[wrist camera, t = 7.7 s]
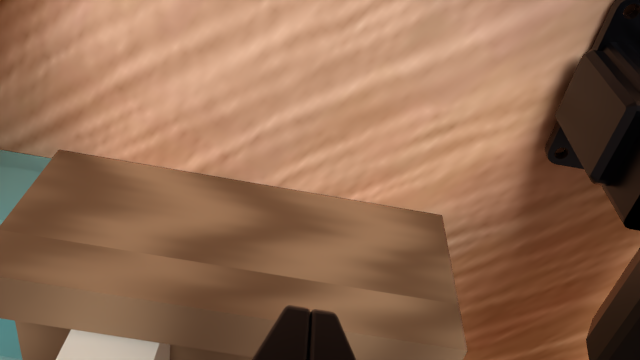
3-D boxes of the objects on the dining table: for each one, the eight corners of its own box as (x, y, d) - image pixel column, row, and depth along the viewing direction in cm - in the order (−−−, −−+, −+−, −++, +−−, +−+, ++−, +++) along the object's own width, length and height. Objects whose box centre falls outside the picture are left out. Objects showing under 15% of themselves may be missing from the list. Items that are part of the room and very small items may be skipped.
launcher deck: (441, 215, 25) (467, 350, 19) (385, 362, 30) (392, 499, 25) (58, 149, 24) (-36, 271, 18) (75, 314, 30) (8, 445, 24)
